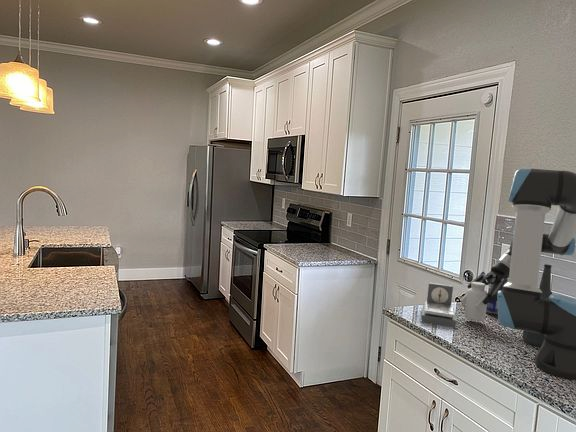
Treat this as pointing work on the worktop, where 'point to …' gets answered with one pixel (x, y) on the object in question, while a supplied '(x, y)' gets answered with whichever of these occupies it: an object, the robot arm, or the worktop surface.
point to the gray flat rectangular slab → (439, 309)
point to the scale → (440, 296)
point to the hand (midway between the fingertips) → (469, 305)
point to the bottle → (545, 287)
